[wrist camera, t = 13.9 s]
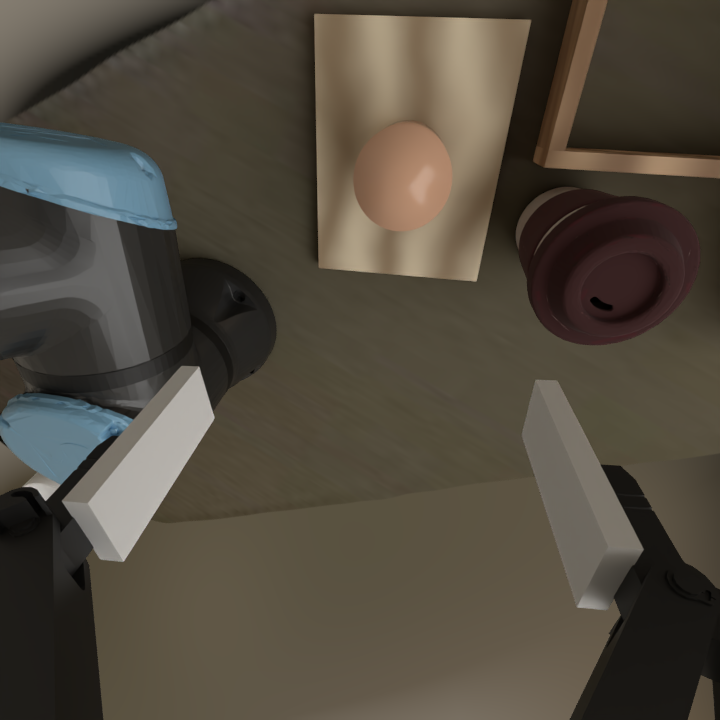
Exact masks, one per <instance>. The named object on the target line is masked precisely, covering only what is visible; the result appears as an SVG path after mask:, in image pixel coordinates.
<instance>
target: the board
mask: <svg viewBox="0 0 720 720" xmlns="http://www.w3.org/2000/svg"><path fill="white" fill-rule="evenodd" d="M530 24H531V20H520V19H484V18H448V17H411V16H375V15H339V14H314V29H315V86H316V143H317V200H318V256H319V268H325V269H337V270H349V271H360V272H372V273H383V274H395V275H407V276H418V277H430V278H441V279H453V280H465V281H477V277H478V272H479V267H480V262H481V257H482V253H483V248H484V243H485V238H486V234H487V229H488V224H489V219H490V215H491V210H492V205H493V200H494V196H495V191H496V186H497V181H498V177H499V172H500V167H501V162H502V157H503V153H504V148H505V143H506V138H507V134H508V129H509V124H510V119H511V115H512V110H513V105H514V100H515V96H516V91H517V86H518V81H519V76H520V72H521V67H522V62H523V57H524V53H525V48H526V43H527V38H528V34H529V29H530ZM403 120H414V121H418V122H422V123H424V124H426V125H428V126H429V127H431V128H432V129H433V130H434V131H435V132H436V133H437V134H438V136H439V137H440V139H441V140H442V142H443V144H444V147H445V149H446V151H447V153H448V155H449V158H450V161H451V166H452V186H451V191H450V194H449V197H448V199H447V201H446V203H445V205H444V207H443V208H442V210H441V211H440V212H439V214H438V215H437V216H436V217H435V218H434V219H433V220H431V221H430V222H429V223H427V224H425V225H424V226H422V227H420V228H417V229H414V230H410V231H392V230H388V229H385V228H383V227H380V226H379V225H377V224H375V223H374V222H373V221H371V220H370V219H369V218H368V217H367V216H366V215H365V213H364V212H363V211H362V209H361V207H360V206H359V203H358V201H357V199H356V195H355V192H354V185H353V176H354V168H355V164H356V161H357V158H358V156H359V154H360V152H361V150H362V149H363V147H364V145H365V144H366V143H367V142H368V141H369V140H370V139H371V138H372V137H373V136H374V135H375V134H377V133H378V132H380V131H381V130H383V129H384V128H386V127H387V126H389V125H391V124H393V123H395V122H398V121H403Z"/></svg>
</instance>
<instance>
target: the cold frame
mask: <svg viewBox="0 0 720 720" xmlns="http://www.w3.org/2000/svg"><path fill="white" fill-rule="evenodd" d="M607 1H608V0H572V4H571V8H570V12H569V16H568V20H567V24H566V28H565V32H564V36H563V40H562V45H561V49H560V53H559V57H558V61H557V65H556V69H555V73H554V77H553V81H552V85H551V89H550V93H549V97H548V101H547V105H546V109H545V113H544V117H543V121H542V125H541V129H540V133H539V137H538V141H537V145H536V149H535V153H534V157H533V162H535V163H536V164H538V165H540V166H542V167H544V168H559V169H576V170H592V171H609V172H626V173H643V174H659V175H676V176H693V177H709V178H720V156H713V155H695V154H677V153H659V152H641V151H622V150H604V149H586V148H568V147H566V146H567V142H568V139H569V135H570V132H571V128H572V125H573V121H574V118H575V114H576V111H577V107H578V103H579V100H580V96H581V93H582V89H583V86H584V82H585V79H586V75H587V72H588V68H589V65H590V61H591V58H592V54H593V51H594V47H595V44H596V40H597V37H598V33H599V30H600V26H601V23H602V19H603V16H604V12H605V9H606V5H607Z"/></svg>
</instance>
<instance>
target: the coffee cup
mask: <svg viewBox="0 0 720 720" xmlns="http://www.w3.org/2000/svg"><path fill="white" fill-rule="evenodd" d="M516 243H517V247H518V249H519V258H520V262H521V264H522V267H523V270H524V273H525V275H526V278H527V291H528V296H529V300H530V303H531V306H532V308H533V310H534V312H535V314H536V316H537V317H538V319H539V320H540V322H541V323H542V324H543V326H544V327H545V328H546V329H548V330H549V331H550V332H551V333H553V334H554V335H556V336H557V337H559V338H561V339H563V340H566V341H569V342H573V343H577V344H582V345H606V344H612V343H618V342H621V341H624V340H628V339H631V338H633V337H636V336H638V335H640V334H642V333H644V332H646V331H648V330H649V329H651V328H653V327H654V326H656V325H658V324H659V323H660V322H662V321H663V320H664V319H665V318H667V317H668V316H669V315H670V314H671V313H672V312H673V311H674V310H675V309H676V308H677V307H678V306H679V305H680V304H681V302H682V301H683V300H684V298H685V297H686V296H687V294H688V293H689V291H690V289H691V287H692V285H693V283H694V281H695V279H696V276H697V272H698V268H699V264H700V245H699V240H698V237H697V234H696V232H695V230H694V228H693V226H692V225H691V223H690V222H689V221H688V220H687V219H686V218H685V217H684V216H683V215H682V214H681V213H680V212H678V211H677V210H675V209H673V208H671V207H669V206H667V205H665V204H662V203H660V202H658V201H655V200H652V199H648V198H643V197H636V196H623V197H618V196H614V195H611V194H607V193H604V192H600V191H597V190H591V189H580V188H576V187H559V188H555V189H552V190H549V191H547V192H545V193H543V194H541V195H539V196H538V197H536V198H535V199H534V200H533V201H532V202H531V203H530V204H529V205H528V206H527V207H526V208H525V210H524V211H523V213H522V215H521V216H520V218H519V221H518V224H517V228H516Z"/></svg>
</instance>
